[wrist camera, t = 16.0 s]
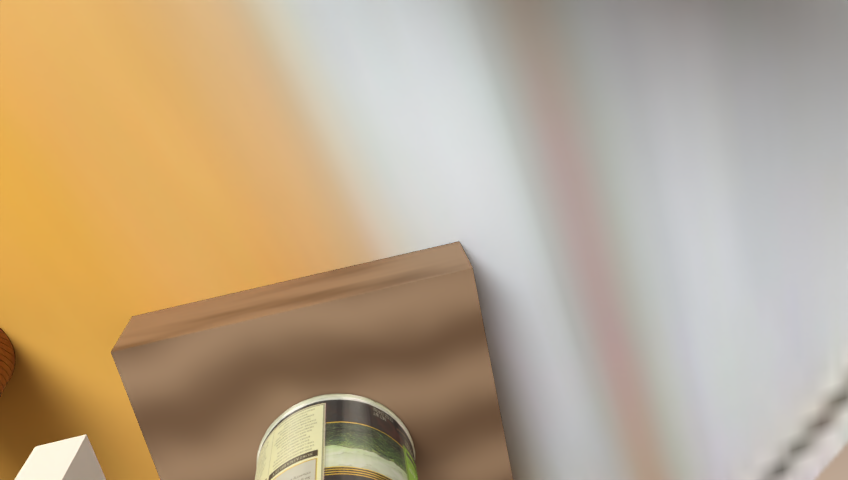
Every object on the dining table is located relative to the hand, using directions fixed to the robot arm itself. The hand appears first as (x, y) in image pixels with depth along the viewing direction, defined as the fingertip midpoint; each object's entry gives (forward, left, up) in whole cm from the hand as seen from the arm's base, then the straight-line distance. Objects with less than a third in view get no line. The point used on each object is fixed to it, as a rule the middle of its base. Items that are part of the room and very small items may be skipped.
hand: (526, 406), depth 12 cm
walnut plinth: (+22, -8, -36) cm, 43 cm away
